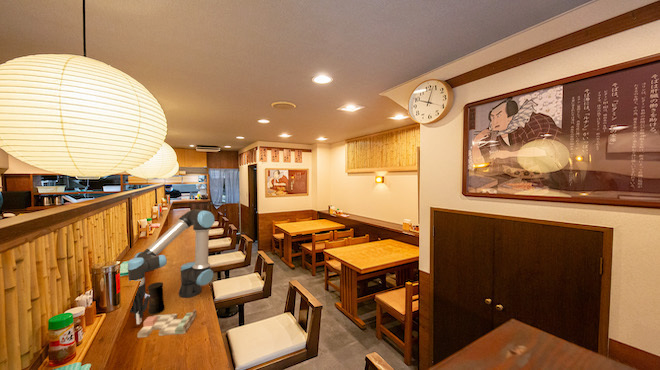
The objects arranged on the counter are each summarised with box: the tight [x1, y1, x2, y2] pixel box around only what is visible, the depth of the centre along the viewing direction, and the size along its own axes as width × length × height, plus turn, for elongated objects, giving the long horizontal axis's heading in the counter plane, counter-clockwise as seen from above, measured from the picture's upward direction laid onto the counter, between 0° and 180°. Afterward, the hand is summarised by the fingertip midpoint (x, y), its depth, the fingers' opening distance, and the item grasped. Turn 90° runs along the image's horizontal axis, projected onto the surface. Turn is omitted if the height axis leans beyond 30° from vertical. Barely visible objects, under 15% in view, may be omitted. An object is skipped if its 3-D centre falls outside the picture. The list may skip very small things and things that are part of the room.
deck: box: [136, 308, 197, 339], centre depth 150 cm, size 17×25×4 cm
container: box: [147, 281, 165, 316], centre depth 165 cm, size 9×9×18 cm
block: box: [142, 315, 157, 327], centre depth 148 cm, size 5×5×3 cm
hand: (139, 322), depth 148 cm, fingers closed
